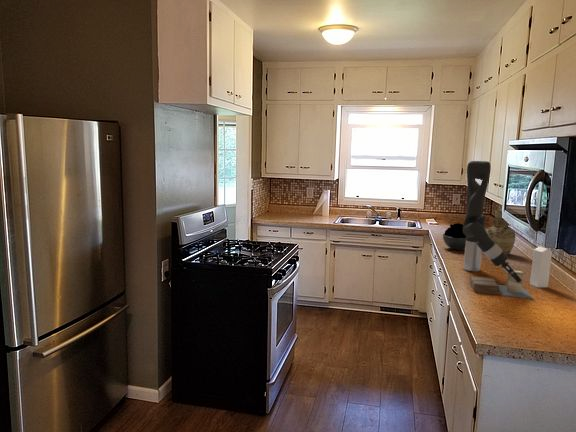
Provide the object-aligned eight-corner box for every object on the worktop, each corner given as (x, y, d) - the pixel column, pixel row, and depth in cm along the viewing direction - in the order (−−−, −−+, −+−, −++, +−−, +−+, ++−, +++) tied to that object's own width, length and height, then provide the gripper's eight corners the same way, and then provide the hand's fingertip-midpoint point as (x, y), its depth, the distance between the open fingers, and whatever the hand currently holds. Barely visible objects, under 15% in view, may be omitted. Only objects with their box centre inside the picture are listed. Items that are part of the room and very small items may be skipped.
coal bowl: (466, 247, 324) (469, 222, 321) (475, 253, 304) (478, 226, 301) (438, 246, 326) (441, 220, 323) (445, 251, 306) (448, 225, 303)
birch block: (505, 289, 222) (508, 269, 220) (518, 290, 220) (521, 271, 219) (507, 291, 218) (510, 272, 216) (521, 292, 216) (523, 273, 215)
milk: (539, 284, 235) (544, 243, 232) (547, 287, 229) (553, 246, 226) (529, 284, 234) (534, 243, 231) (537, 287, 228) (542, 245, 225)
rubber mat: (495, 285, 229) (495, 284, 229) (522, 288, 226) (522, 287, 226) (503, 295, 212) (503, 294, 212) (532, 298, 209) (532, 298, 209)
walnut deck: (469, 283, 231) (470, 275, 230) (492, 285, 228) (492, 278, 228) (473, 291, 217) (474, 283, 216) (498, 294, 214) (498, 286, 213)
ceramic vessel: (485, 248, 322) (490, 208, 317) (516, 254, 307) (521, 211, 303) (476, 252, 308) (480, 210, 303) (508, 258, 294) (513, 213, 289)
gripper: (504, 252, 211) (528, 278, 210) (498, 246, 225) (520, 270, 224) (491, 262, 213) (514, 287, 212) (486, 256, 227) (508, 279, 226)
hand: (517, 279), depth 218 cm, fingers open, 8 cm apart
